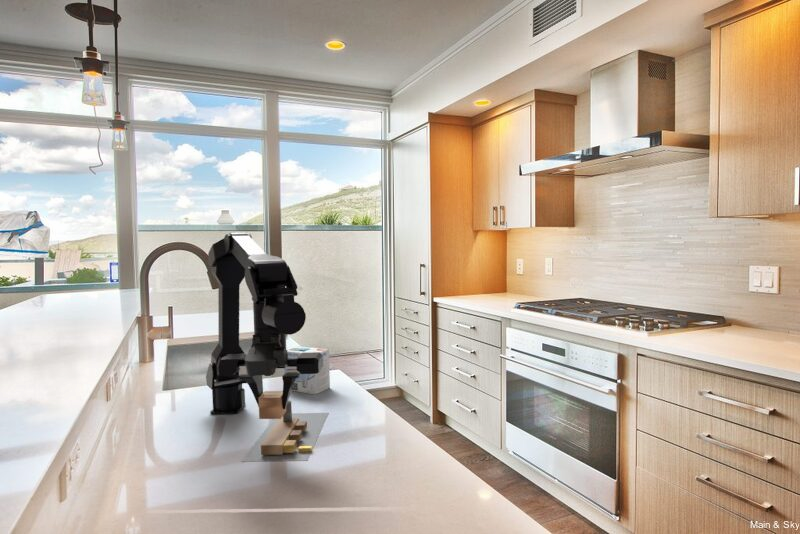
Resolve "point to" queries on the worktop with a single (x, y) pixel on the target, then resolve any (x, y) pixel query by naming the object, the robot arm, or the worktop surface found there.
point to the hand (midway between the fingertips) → (272, 408)
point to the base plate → (308, 439)
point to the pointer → (305, 449)
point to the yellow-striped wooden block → (271, 405)
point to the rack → (284, 434)
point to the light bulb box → (311, 381)
